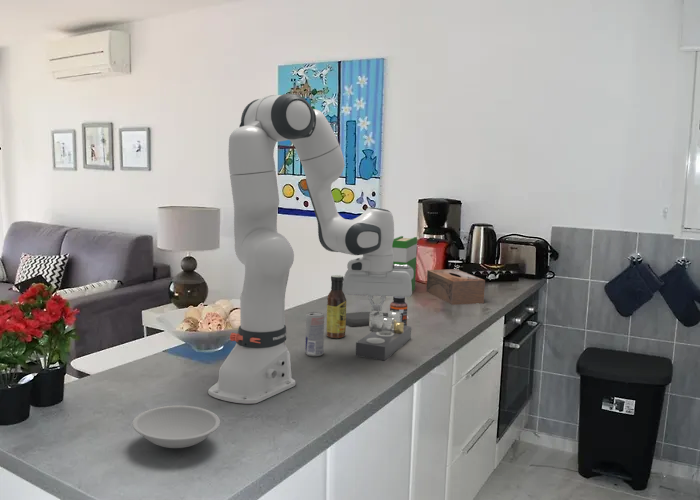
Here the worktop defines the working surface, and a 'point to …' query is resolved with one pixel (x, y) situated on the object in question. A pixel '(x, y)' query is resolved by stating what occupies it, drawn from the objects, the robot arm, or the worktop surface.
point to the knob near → (376, 321)
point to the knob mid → (386, 326)
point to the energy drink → (314, 334)
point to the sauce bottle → (336, 309)
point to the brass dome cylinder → (398, 327)
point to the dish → (176, 425)
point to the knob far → (394, 316)
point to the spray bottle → (359, 319)
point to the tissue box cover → (455, 286)
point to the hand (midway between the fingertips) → (376, 310)
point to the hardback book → (405, 253)
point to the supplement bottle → (400, 308)
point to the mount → (382, 344)
